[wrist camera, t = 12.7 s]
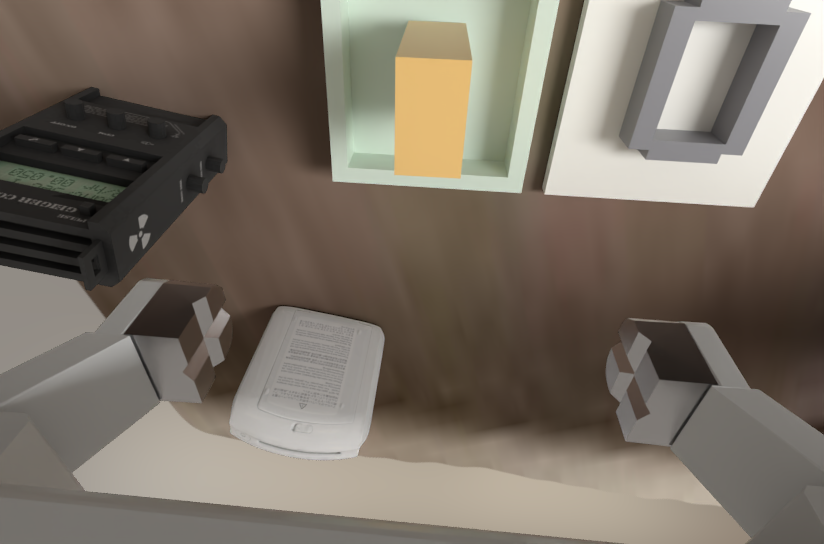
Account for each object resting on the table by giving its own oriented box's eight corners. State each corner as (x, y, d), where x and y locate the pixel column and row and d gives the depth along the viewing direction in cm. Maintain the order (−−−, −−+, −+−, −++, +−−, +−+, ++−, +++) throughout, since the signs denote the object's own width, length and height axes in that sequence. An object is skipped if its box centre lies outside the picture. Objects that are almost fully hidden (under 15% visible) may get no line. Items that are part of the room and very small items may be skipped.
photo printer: (270, 333, 43) (217, 456, 33) (271, 298, 41) (215, 421, 31) (380, 354, 44) (361, 481, 34) (389, 322, 42) (371, 448, 32)
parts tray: (563, -84, 24) (575, -84, 22) (515, 172, 32) (521, 193, 30) (327, -95, 24) (313, -96, 22) (341, 161, 33) (332, 181, 30)
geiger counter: (240, 107, 31) (108, 229, 19) (240, 170, 34) (125, 311, 22) (74, 69, 30) (-174, 170, 18) (88, 136, 33) (-120, 264, 21)
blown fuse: (464, 16, 26) (472, 60, 18) (456, 107, 29) (460, 178, 21) (411, 14, 26) (395, 56, 18) (408, 104, 29) (394, 174, 21)
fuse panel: (899, -93, 23) (952, -94, 21) (746, 200, 33) (770, 222, 30) (608, -107, 23) (627, -110, 21) (542, 187, 33) (549, 208, 31)
